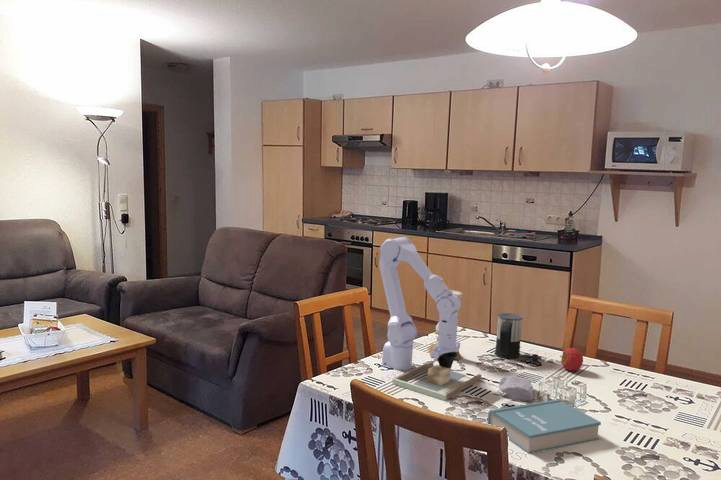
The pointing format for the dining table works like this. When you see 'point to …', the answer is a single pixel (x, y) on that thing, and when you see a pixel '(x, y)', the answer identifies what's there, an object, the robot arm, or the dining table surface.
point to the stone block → (516, 388)
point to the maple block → (438, 375)
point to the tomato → (572, 359)
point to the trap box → (431, 387)
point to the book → (545, 425)
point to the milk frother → (510, 337)
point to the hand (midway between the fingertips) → (444, 374)
